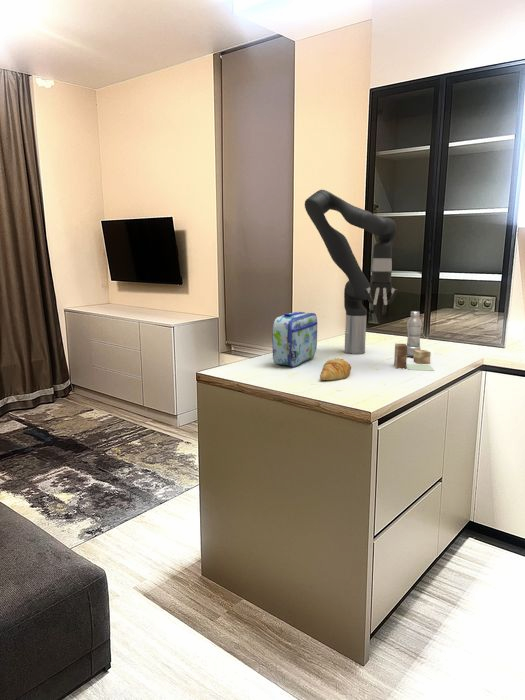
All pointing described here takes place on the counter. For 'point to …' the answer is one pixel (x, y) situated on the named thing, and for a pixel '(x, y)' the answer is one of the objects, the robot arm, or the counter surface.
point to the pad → (419, 367)
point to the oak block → (422, 356)
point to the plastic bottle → (413, 333)
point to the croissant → (335, 369)
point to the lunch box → (294, 338)
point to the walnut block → (400, 356)
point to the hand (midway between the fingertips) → (379, 314)
